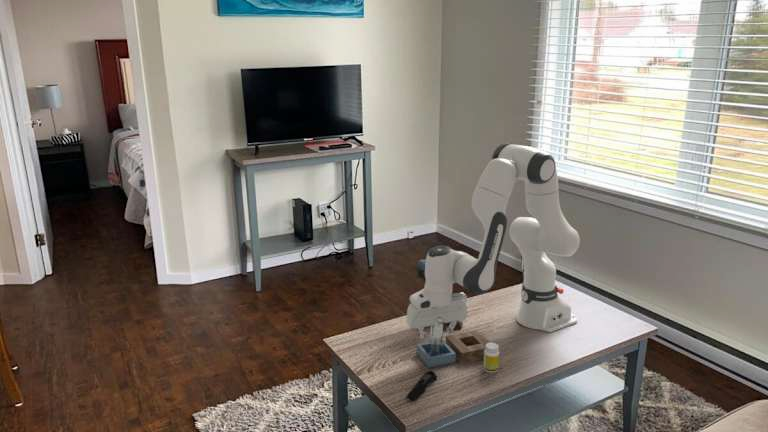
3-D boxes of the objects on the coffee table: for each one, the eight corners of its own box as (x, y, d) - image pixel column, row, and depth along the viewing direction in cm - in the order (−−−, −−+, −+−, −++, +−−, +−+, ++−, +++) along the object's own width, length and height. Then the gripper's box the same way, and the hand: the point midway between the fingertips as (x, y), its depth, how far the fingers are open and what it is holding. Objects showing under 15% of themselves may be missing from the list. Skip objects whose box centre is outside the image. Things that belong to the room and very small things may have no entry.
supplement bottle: (500, 371, 182) (502, 348, 180) (487, 374, 181) (488, 350, 178) (493, 363, 186) (495, 340, 184) (480, 366, 185) (482, 342, 183)
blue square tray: (442, 348, 195) (442, 339, 194) (455, 363, 187) (455, 353, 186) (416, 353, 192) (416, 344, 191) (428, 368, 184) (428, 358, 182)
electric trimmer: (402, 401, 168) (403, 392, 167) (427, 375, 180) (427, 366, 179) (414, 406, 166) (414, 396, 165) (437, 379, 178) (438, 370, 177)
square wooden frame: (476, 340, 201) (476, 329, 200) (494, 357, 190) (494, 346, 189) (445, 346, 197) (445, 335, 196) (461, 364, 186) (462, 353, 185)
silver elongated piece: (436, 350, 193) (438, 308, 188) (446, 361, 187) (447, 318, 182) (425, 352, 192) (426, 310, 187) (434, 363, 185) (436, 320, 180)
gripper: (462, 287, 189) (460, 325, 193) (405, 296, 182) (404, 335, 186) (471, 295, 183) (469, 334, 187) (412, 305, 176) (411, 345, 181)
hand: (436, 335), depth 187 cm, fingers open, 8 cm apart
